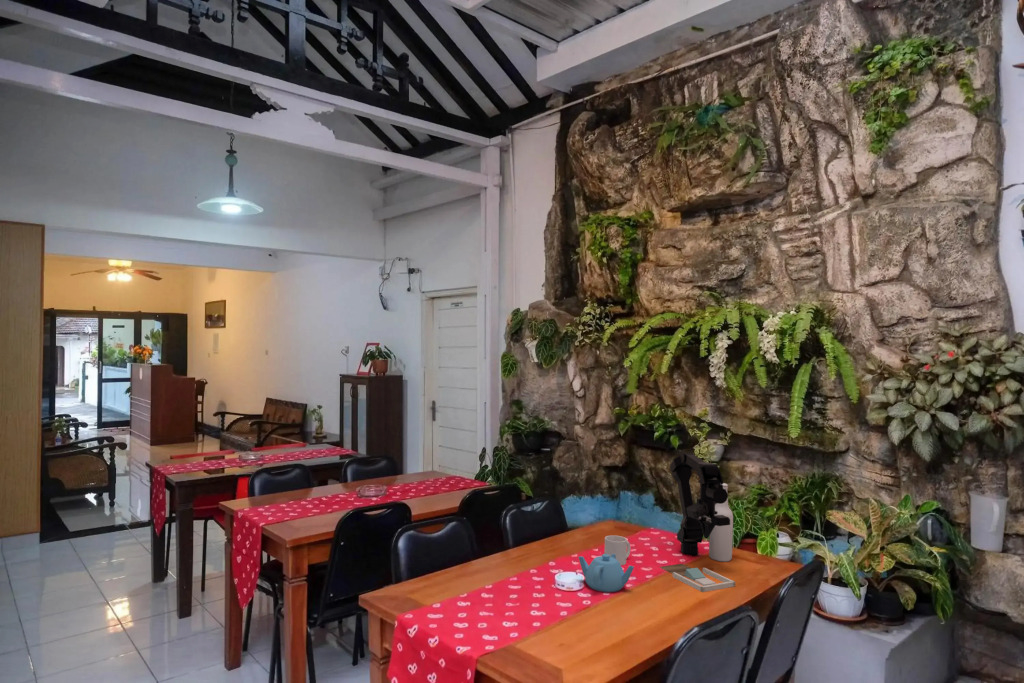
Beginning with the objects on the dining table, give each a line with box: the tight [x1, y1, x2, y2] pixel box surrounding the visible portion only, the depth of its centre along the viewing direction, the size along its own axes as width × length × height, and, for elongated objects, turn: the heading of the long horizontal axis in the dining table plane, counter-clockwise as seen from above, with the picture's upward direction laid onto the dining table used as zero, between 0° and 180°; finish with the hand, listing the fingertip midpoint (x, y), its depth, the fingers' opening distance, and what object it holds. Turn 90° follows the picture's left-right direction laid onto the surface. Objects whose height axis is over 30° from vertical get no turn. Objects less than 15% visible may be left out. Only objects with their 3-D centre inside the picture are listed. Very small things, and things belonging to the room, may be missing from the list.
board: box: [659, 563, 692, 577], centre depth 231 cm, size 11×11×2 cm
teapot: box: [578, 553, 635, 593], centre depth 217 cm, size 15×15×11 cm
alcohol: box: [708, 482, 734, 563], centre depth 251 cm, size 9×9×30 cm
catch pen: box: [672, 567, 736, 593], centre depth 220 cm, size 15×15×3 cm
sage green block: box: [684, 567, 707, 582], centre depth 224 cm, size 5×5×2 cm
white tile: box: [694, 577, 717, 586], centre depth 219 cm, size 5×5×2 cm
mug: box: [603, 535, 631, 566], centre depth 239 cm, size 12×8×10 cm
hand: (706, 538), depth 237 cm, fingers closed
